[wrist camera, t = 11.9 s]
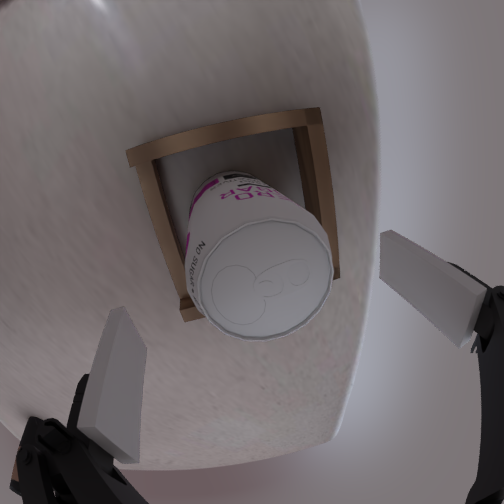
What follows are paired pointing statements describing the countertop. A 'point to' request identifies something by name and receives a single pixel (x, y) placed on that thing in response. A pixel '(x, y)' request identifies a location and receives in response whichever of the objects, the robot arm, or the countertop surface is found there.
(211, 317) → the supplement can
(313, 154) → the dock bay
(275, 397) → the countertop surface
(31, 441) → the travel mug
